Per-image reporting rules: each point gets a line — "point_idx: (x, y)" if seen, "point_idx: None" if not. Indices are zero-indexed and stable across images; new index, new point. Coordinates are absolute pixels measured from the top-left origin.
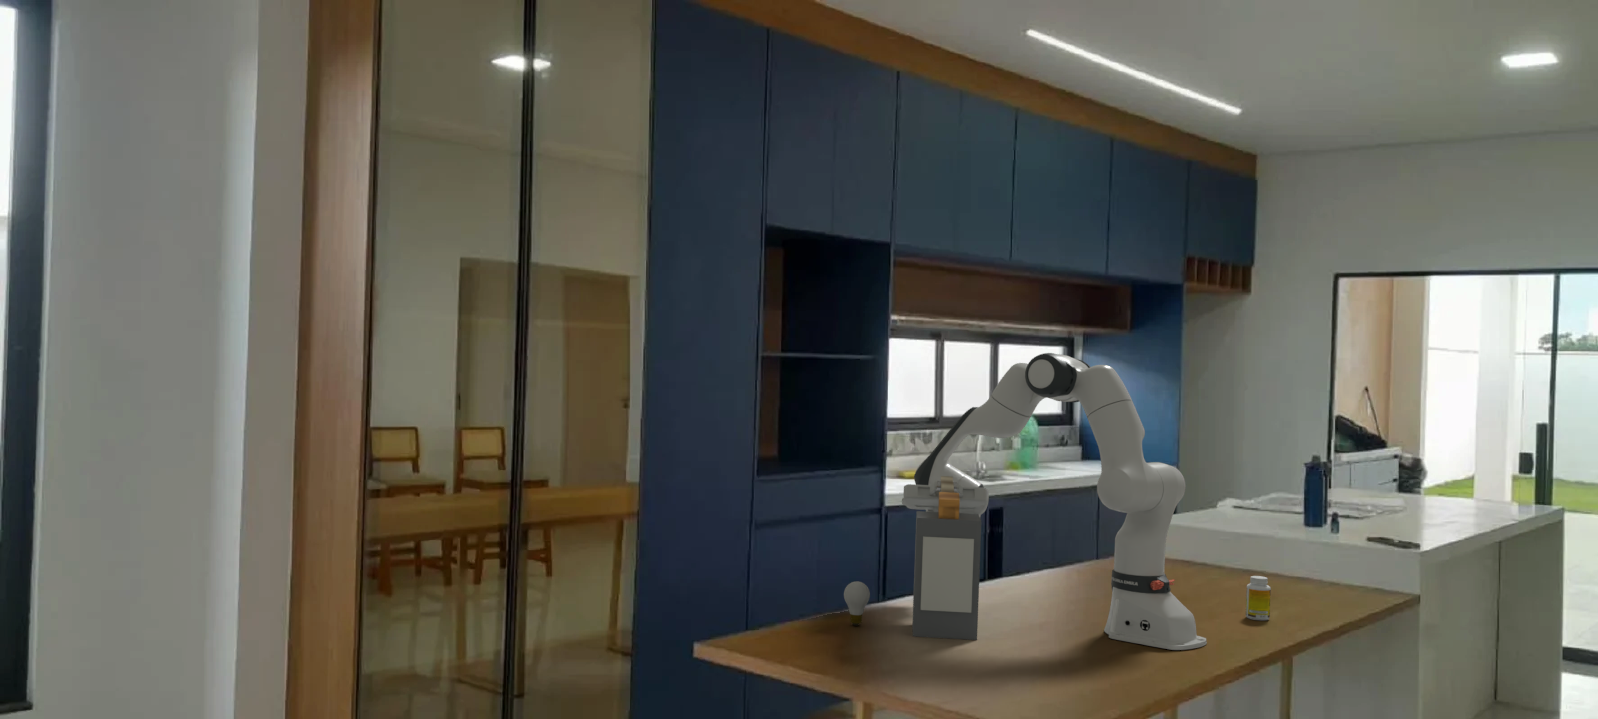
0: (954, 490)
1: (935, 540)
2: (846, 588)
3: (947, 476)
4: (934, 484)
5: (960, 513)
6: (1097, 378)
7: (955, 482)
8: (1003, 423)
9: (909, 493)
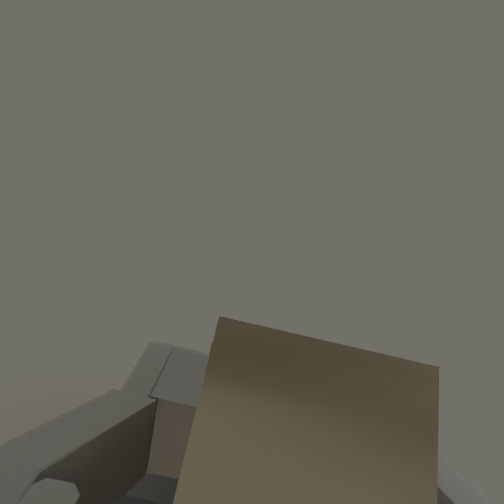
0: (170, 459)
1: None
2: None
3: (313, 339)
4: (443, 479)
5: (147, 489)
6: None
7: (191, 354)
8: None
9: None
